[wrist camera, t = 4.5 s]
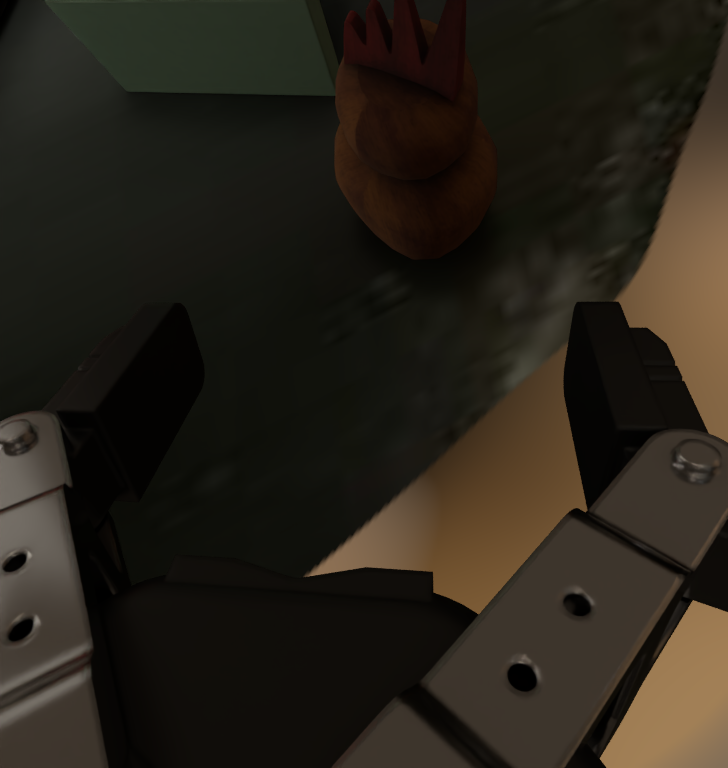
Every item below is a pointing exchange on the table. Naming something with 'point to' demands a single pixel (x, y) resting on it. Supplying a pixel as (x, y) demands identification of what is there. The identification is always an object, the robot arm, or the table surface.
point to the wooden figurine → (412, 130)
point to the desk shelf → (208, 44)
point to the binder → (2, 6)
